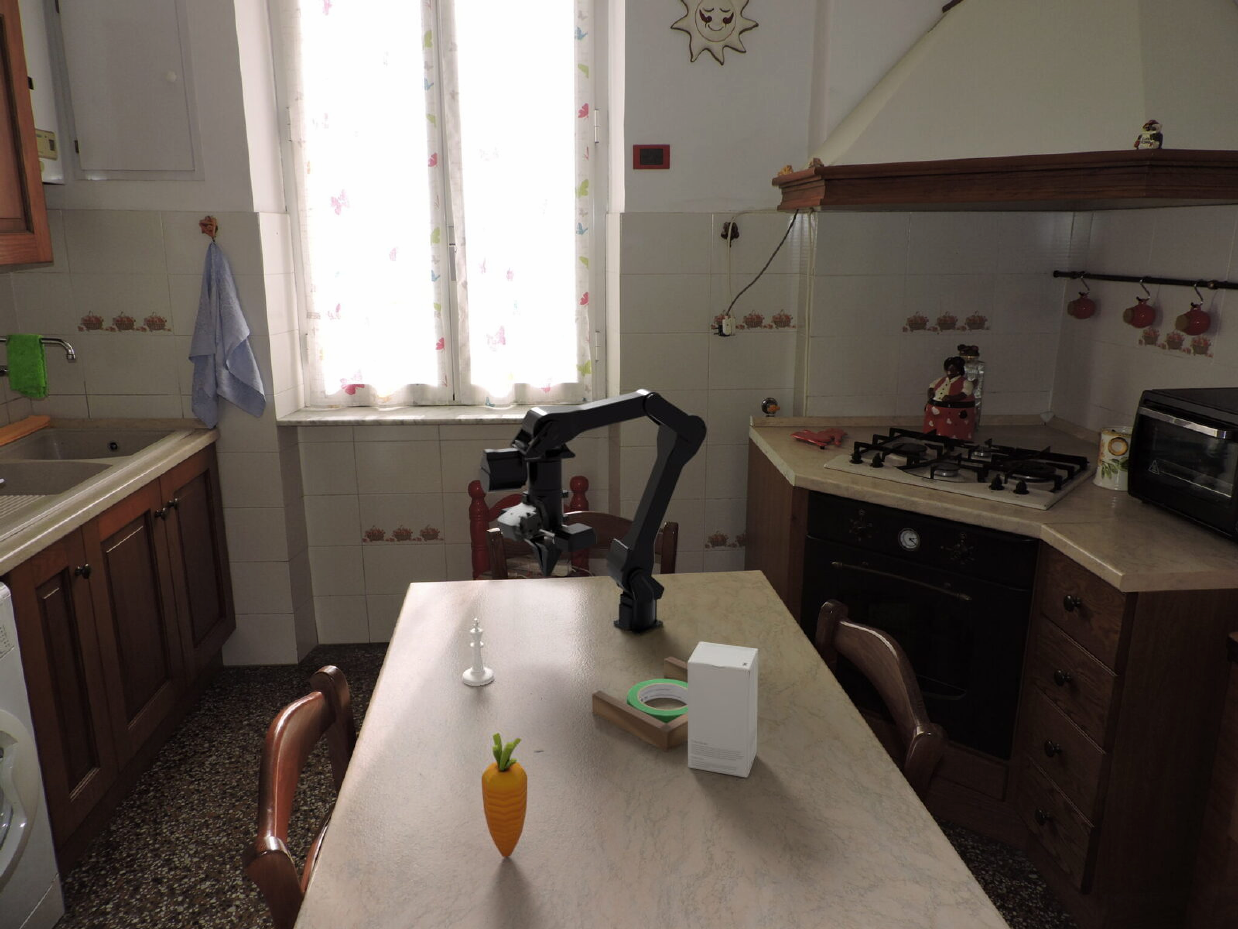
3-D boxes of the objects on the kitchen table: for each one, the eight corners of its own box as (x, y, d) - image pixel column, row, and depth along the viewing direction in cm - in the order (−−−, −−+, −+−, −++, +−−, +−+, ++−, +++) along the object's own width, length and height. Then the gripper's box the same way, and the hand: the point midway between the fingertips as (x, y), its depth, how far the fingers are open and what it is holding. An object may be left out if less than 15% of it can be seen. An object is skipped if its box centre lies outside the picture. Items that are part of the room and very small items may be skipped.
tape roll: (651, 686, 142) (651, 671, 141) (715, 706, 136) (716, 690, 135) (612, 718, 132) (612, 701, 132) (679, 740, 127) (680, 723, 126)
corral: (670, 673, 145) (670, 656, 144) (743, 707, 135) (744, 688, 134) (592, 712, 133) (592, 694, 133) (666, 752, 123) (667, 732, 123)
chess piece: (497, 671, 145) (495, 613, 143) (490, 687, 141) (488, 626, 138) (466, 670, 146) (464, 611, 143) (458, 685, 141) (455, 625, 138)
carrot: (485, 843, 105) (481, 726, 101) (529, 841, 105) (526, 724, 102) (482, 873, 100) (478, 751, 96) (528, 871, 101) (526, 749, 97)
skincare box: (757, 754, 123) (762, 647, 119) (747, 781, 117) (752, 670, 113) (696, 742, 126) (699, 638, 122) (683, 769, 120) (686, 659, 116)
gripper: (470, 483, 149) (473, 573, 153) (545, 508, 137) (546, 606, 141) (523, 471, 157) (525, 557, 161) (599, 493, 144) (599, 586, 148)
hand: (546, 576), depth 152 cm, fingers closed
